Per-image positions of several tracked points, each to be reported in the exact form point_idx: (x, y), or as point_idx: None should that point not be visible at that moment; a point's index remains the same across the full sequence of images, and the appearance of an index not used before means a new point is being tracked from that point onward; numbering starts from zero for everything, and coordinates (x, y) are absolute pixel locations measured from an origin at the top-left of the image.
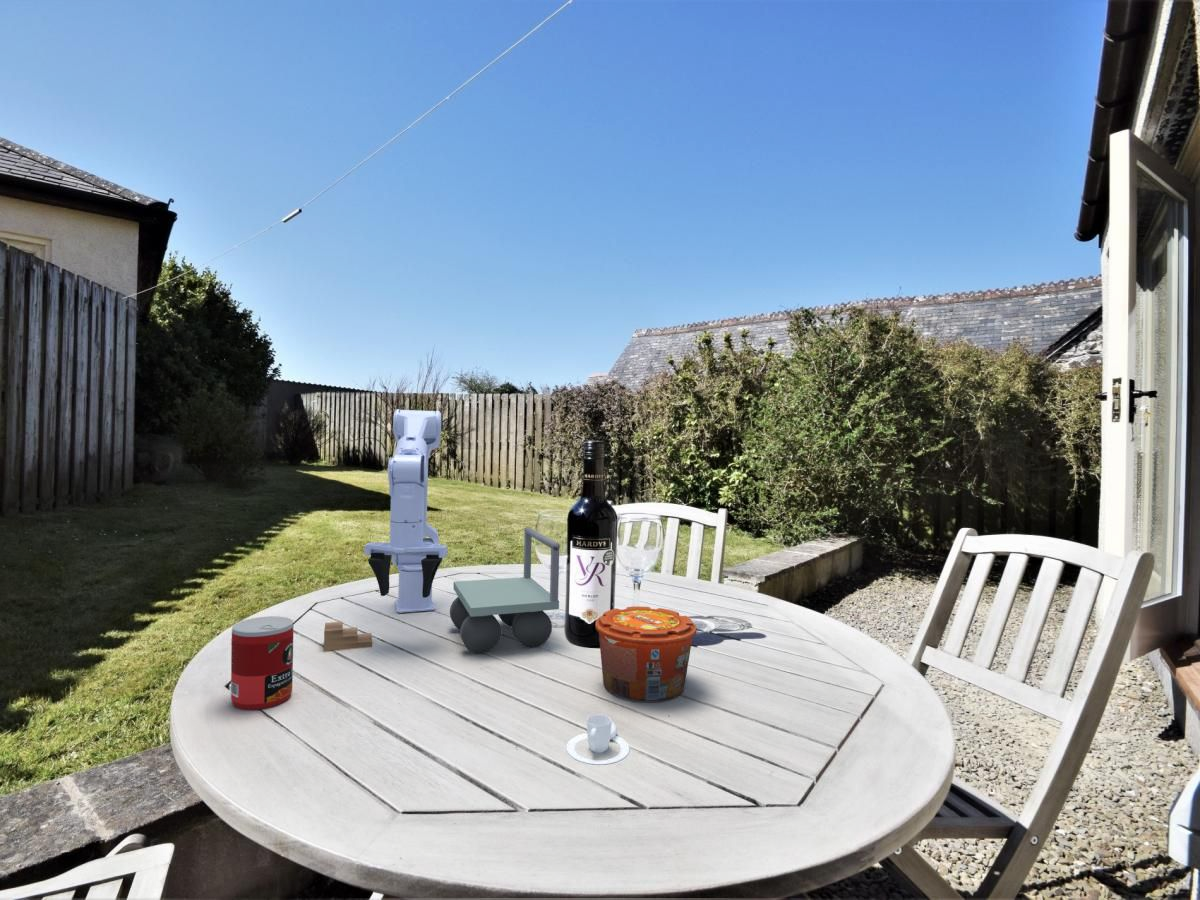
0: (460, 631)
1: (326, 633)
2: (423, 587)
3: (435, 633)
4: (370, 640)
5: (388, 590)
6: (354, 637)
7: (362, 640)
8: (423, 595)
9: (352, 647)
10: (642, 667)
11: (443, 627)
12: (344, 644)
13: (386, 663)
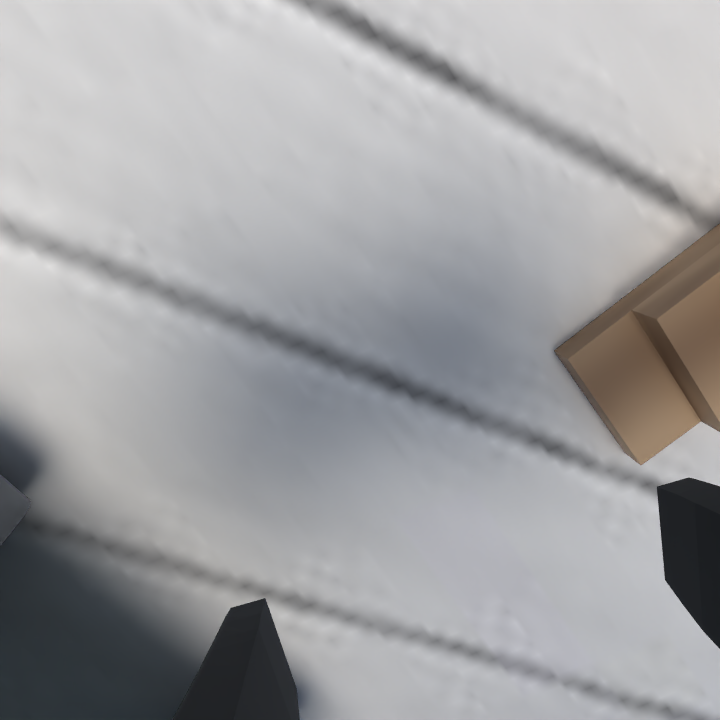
0: (3, 519)
1: None
2: (233, 671)
3: (354, 628)
4: (581, 364)
5: (683, 594)
6: (663, 305)
7: (622, 348)
8: (252, 612)
9: (637, 288)
10: None
11: (366, 708)
12: (685, 266)
13: (334, 155)
